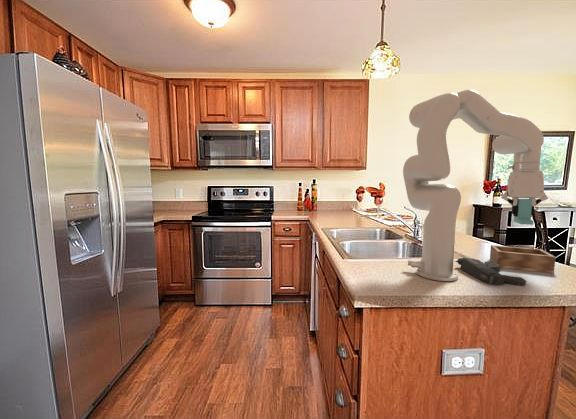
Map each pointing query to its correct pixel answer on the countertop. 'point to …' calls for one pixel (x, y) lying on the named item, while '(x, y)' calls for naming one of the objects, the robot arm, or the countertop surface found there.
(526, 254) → the open wooden box
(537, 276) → the countertop surface
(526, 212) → the teal upright block
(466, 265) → the toy gun
